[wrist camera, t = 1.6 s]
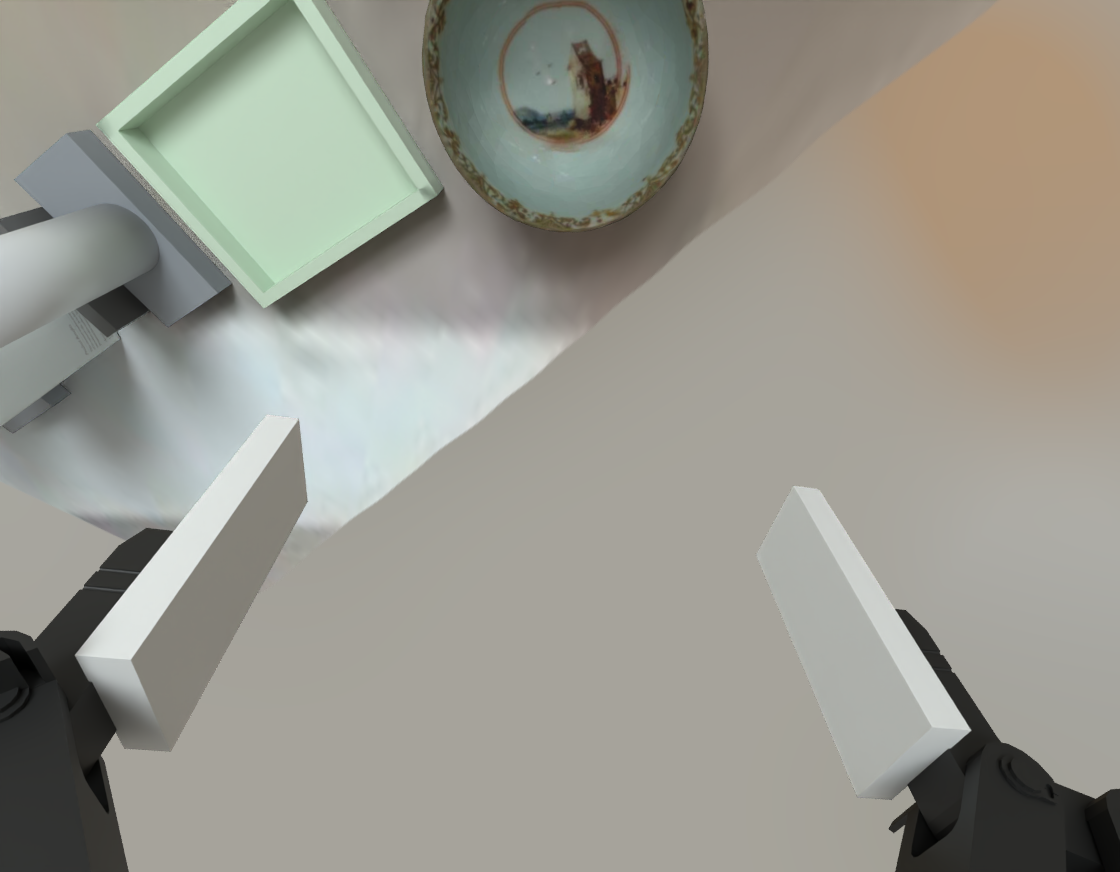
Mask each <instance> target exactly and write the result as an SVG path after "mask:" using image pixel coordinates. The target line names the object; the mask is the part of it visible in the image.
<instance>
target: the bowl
mask: <svg viewBox="0 0 1120 872" xmlns="http://www.w3.org/2000/svg"><path fill="white" fill-rule="evenodd" d="M422 66H423V77H424V84H425V90H426V96H427V101H428V104H429V108H430V112H431V115H432V119H433V122H434V125H435V127H436V130H437V132H438V135H439V137H440V139H441V141H442V143H443V145H444V147H445V150H446V151H447V153H448V155H449V157H450V158H451V160H452V162H453V163H454V165H455V167H456V168H457V170H458V171H459V172H460V174H461V175H462V176H463V177H464V179H465V180H466V181H467V182H468V183H469V185H470V186H471V187H472V188H473V189H474V190H475V191H476V192H477V193H478V194H479V195H480V196H481V197H482V198H483V199H484V200H485V201H487V202H488V203H489V204H490V205H491V206H493V207H494V208H495V209H497V210H498V211H500V212H501V213H503V214H505V215H507V216H508V217H510V218H512V219H513V220H516V221H519V222H521V223H524V224H526V225H529V226H532V227H536V228H540V229H544V230H549V231H556V232H582V231H589V230H593V229H597V228H601V227H604V226H606V225H609V224H612V223H614V222H617V221H619V220H621V219H623V218H625V217H627V216H629V215H630V214H632V213H633V212H634V211H636V210H637V209H638V208H640V207H641V206H642V205H643V204H644V203H645V202H647V201H648V200H649V199H650V198H651V197H653V196H654V195H655V194H656V193H657V192H658V191H659V190H660V189H661V188H662V187H663V186H664V185H665V183H666V182H667V181H668V180H669V178H670V177H671V176H672V175H673V174H674V172H675V171H676V170H677V168H678V166H679V164H680V163H681V161H682V159H683V158H684V156H685V154H686V152H687V150H688V148H689V146H690V144H691V142H692V139H693V136H694V134H695V131H696V128H697V126H698V123H699V120H700V117H701V113H702V110H703V104H704V98H705V91H706V84H707V76H708V33H707V26H706V18H705V11H704V7H703V3H702V0H430V1H429V5H428V9H427V13H426V17H425V27H424V38H423V48H422Z"/></svg>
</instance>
